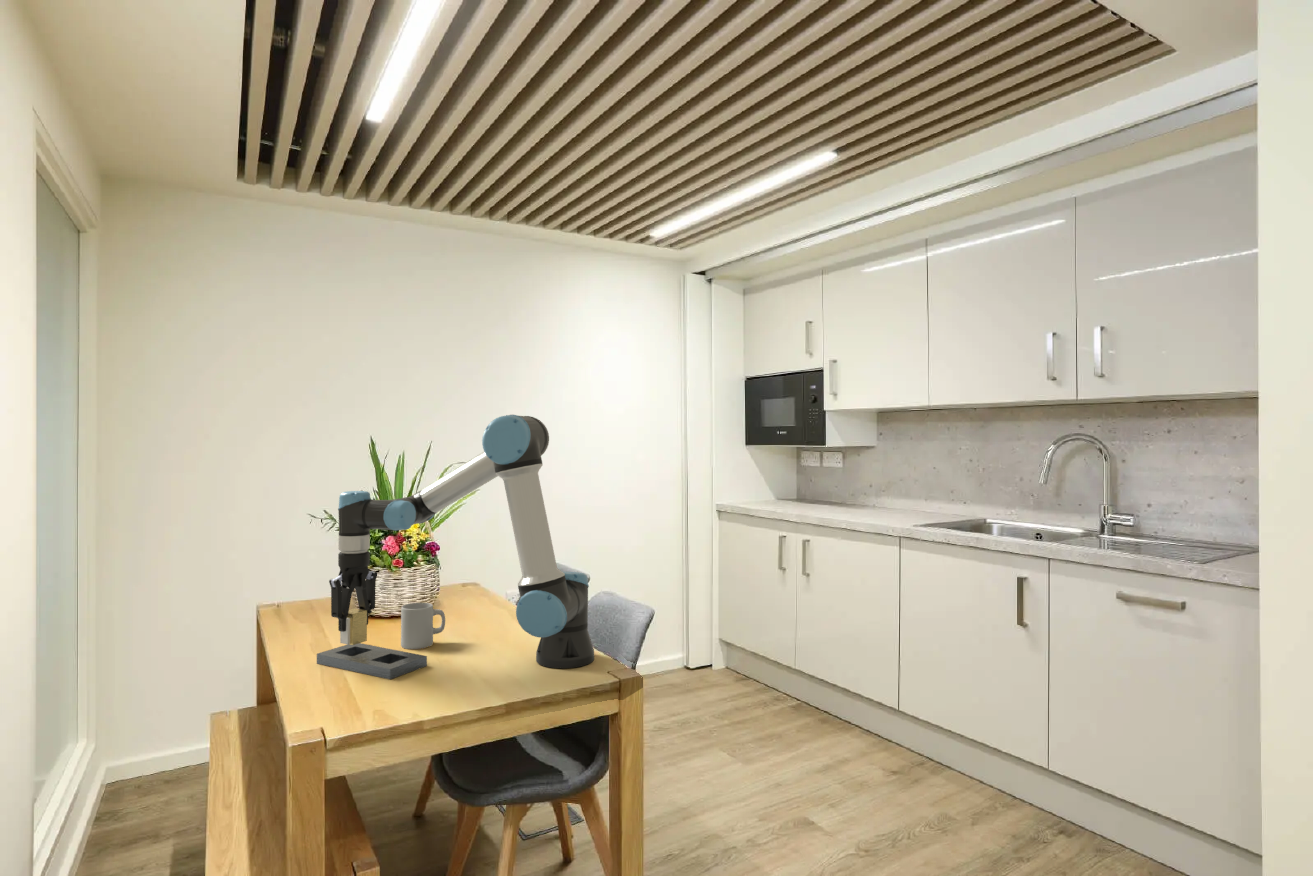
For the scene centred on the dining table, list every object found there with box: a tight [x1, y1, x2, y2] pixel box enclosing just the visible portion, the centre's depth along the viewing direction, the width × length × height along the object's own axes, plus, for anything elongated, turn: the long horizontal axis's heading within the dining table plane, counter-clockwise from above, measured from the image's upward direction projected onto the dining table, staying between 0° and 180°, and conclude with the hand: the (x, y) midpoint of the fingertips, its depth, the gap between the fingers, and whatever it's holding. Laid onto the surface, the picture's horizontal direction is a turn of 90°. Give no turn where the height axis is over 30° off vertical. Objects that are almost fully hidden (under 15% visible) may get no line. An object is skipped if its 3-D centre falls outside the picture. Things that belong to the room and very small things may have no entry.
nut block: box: [347, 607, 368, 645], centre depth 194 cm, size 4×4×8 cm
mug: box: [400, 602, 446, 650], centre depth 210 cm, size 12×8×11 cm
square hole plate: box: [316, 642, 428, 680], centre depth 192 cm, size 26×12×2 cm, turn 63°
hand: (353, 640), depth 194 cm, fingers closed on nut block, 4 cm apart
